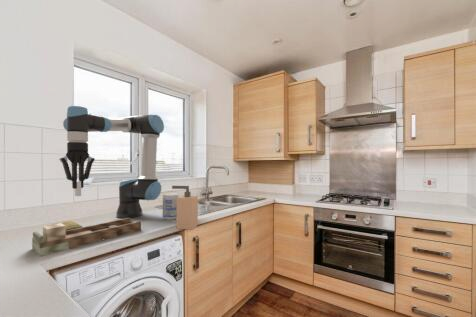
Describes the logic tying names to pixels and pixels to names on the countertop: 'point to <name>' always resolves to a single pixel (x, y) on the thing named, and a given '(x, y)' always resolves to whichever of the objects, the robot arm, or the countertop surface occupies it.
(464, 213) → the countertop surface
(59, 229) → the block
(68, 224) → the carton
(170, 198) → the supplement tub
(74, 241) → the tray
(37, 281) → the countertop surface
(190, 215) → the soap dispenser
